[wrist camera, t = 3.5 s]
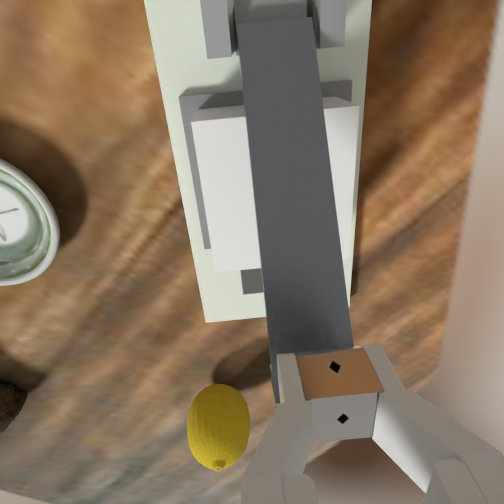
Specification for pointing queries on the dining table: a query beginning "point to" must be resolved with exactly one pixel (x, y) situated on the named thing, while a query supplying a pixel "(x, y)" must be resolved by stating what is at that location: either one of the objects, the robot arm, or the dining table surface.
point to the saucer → (25, 227)
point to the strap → (292, 190)
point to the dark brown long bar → (10, 404)
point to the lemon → (218, 426)
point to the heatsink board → (227, 74)
